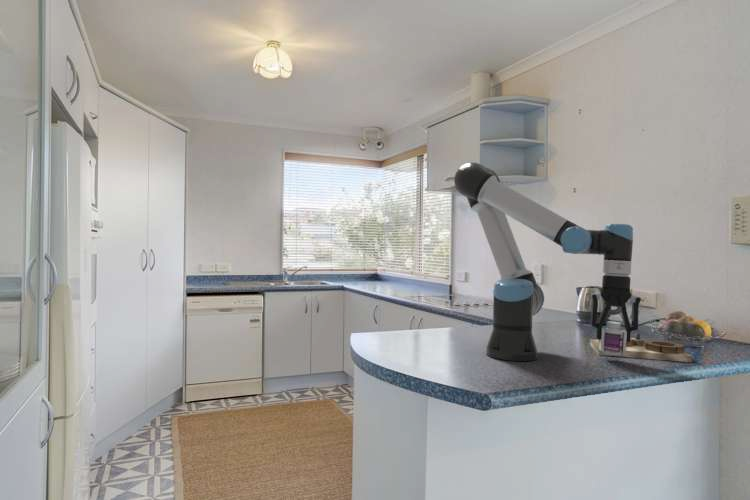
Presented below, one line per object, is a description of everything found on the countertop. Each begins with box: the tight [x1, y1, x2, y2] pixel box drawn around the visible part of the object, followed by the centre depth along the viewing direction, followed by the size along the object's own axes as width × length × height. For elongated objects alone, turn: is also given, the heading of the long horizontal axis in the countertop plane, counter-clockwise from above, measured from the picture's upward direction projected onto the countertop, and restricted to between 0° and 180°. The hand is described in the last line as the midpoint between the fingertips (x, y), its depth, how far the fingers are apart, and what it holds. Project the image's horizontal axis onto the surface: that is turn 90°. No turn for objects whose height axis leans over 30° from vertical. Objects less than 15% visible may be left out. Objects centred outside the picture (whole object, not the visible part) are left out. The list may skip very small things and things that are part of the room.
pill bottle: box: [603, 321, 623, 357], centre depth 143 cm, size 5×5×10 cm
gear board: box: [589, 333, 693, 363], centre depth 155 cm, size 26×17×6 cm, turn 74°
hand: (612, 351), depth 143 cm, fingers closed on pill bottle, 5 cm apart
